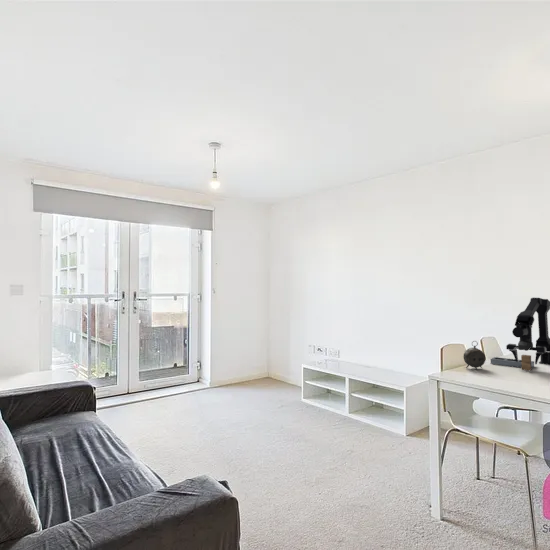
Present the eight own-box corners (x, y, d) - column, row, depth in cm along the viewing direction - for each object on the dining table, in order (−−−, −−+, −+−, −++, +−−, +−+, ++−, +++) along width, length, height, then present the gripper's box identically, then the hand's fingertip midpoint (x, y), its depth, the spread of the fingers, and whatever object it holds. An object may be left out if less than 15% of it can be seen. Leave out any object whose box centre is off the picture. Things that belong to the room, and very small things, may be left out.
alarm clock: (482, 368, 226) (482, 340, 227) (487, 370, 221) (486, 341, 221) (463, 367, 228) (462, 340, 228) (467, 369, 222) (466, 341, 223)
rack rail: (490, 363, 238) (490, 359, 238) (494, 361, 245) (494, 356, 245) (530, 368, 224) (530, 363, 224) (534, 366, 230) (534, 361, 230)
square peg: (523, 368, 225) (522, 354, 225) (531, 369, 222) (531, 355, 222) (521, 369, 222) (521, 355, 222) (529, 370, 219) (529, 356, 219)
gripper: (503, 335, 223) (504, 363, 223) (542, 338, 210) (543, 367, 210) (508, 334, 231) (509, 360, 231) (546, 336, 218) (547, 364, 218)
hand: (526, 363), depth 222 cm, fingers open, 9 cm apart
